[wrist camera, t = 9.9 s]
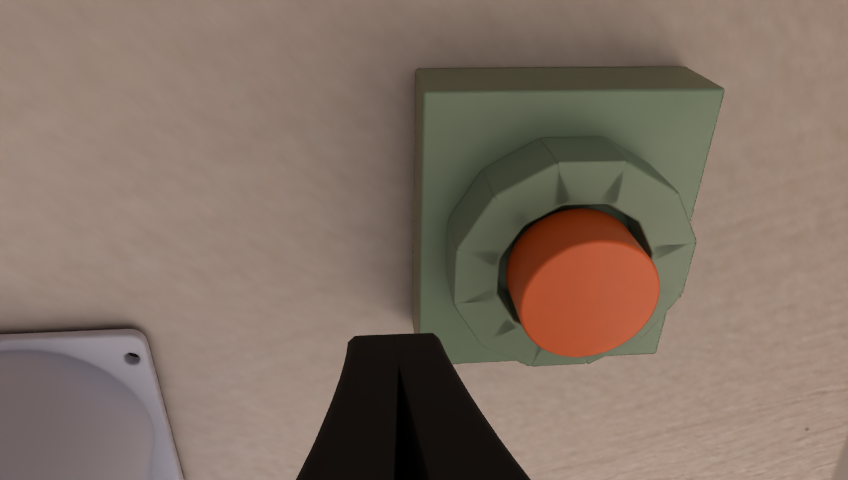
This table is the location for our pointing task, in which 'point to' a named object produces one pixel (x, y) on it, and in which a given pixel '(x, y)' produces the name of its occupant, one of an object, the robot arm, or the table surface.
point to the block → (548, 187)
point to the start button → (581, 283)
